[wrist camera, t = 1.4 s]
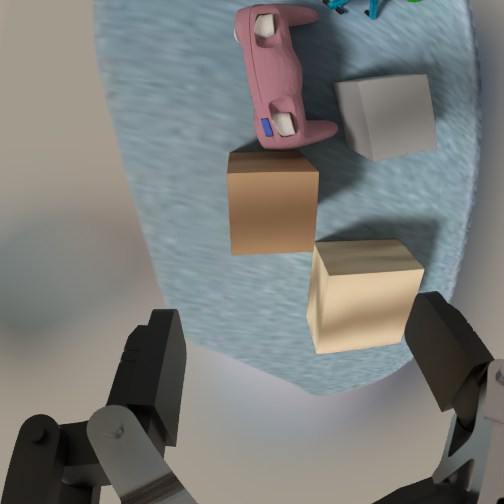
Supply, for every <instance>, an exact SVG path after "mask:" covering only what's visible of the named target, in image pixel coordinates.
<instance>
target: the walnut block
mask: <svg viewBox="0 0 504 504" xmlns="http://www.w3.org/2000/svg"><path fill="white" fill-rule="evenodd" d="M318 183H319V171H318V170H317V169H316V168H315V167H314V166H313V165H312V164H311V163H310V162H309V161H308V160H307V159H306V158H305V157H304V156H303V155H302V154H301V153H300V152H299V151H269V152H235V153H229V161H228V169H227V184H228V203H229V221H230V238H231V254H232V255H246V254H270V253H293V252H314V243H315V230H316V216H317V201H318Z"/></svg>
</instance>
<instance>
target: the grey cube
mask: <svg viewBox="0 0 504 504" xmlns="http://www.w3.org/2000/svg"><path fill="white" fill-rule="evenodd" d="M333 87H334V91H335V95H336V99H337V103H338V107H339V111H340V115H341V120H342V124H343V129H344V133H345V138H346V143H347V147H348V148H350V149H352V150H354V151H355V152H357V153H359V154H361V155H363V156H364V157H366V158H368V159H369V160H371V161H373V162H376V161H380V160H385V159H389V158H394V157H399V156H403V155H408V154H413V153H418V152H422V151H427V150H432V149H438V146H437V136H436V128H435V120H434V113H433V107H432V100H431V94H430V89H429V84H428V79H427V74H398V75H384V76H376V77H368V78H361V79H354V80H348V81H341V82H336V83H333Z"/></svg>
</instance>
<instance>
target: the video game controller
mask: <svg viewBox="0 0 504 504" xmlns="http://www.w3.org/2000/svg"><path fill="white" fill-rule="evenodd" d="M318 18H319V15H318V13H317V12H316V11H315V10H313V9H311V8H307V7H302V6H296V5H286V4H259V5H253V6H249V7H246V8H243V9H240V10H238V11H237V14H236V19H235V25H236V28H235V29H234V36H235V39H236V40H237V41H238V42H239V43H240V44H241V45H242V47H243V54H244V61H245V66H246V72H247V78H248V82H249V86H250V91H251V95H252V99H253V103H254V106H255V110H254V124H255V130H256V134H257V137H258V139H259V142H260V143H261V145H262V146H263V147H264V148H265V149H268V150H272V149H283V150H287V149H295V148H299V147H303V146H306V145H309V144H312V143H316V142H319V141H321V140H324V139H327V138H330V137H332V136H334V135H335V134H336V133H337V131H338V126H337V125H336V124H335V123H334V122H332V121H328V120H306V118H305V111H304V105H303V100H302V96H301V91H302V81H303V74H302V69H301V65H300V62H299V60H298V57H297V55H296V54H295V52H294V50H293V47H292V41H291V36H290V31H289V27H291V26H299V25H305V24H310V23H313V22H315V21H317V20H318Z"/></svg>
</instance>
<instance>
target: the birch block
mask: <svg viewBox="0 0 504 504" xmlns="http://www.w3.org/2000/svg"><path fill="white" fill-rule="evenodd" d="M424 270H425V269H424V268H423V266H422V265H421V264H420V263H419V262H418V261H417V260H416V258H415V257H414V256H413V255H412V254H411V253H410V252H409V251H408V249H407V248H406V247H405V246H404V245H403V244H402V243H401V242H400V241H399V240H398V239H390V240H360V241H332V242H315V243H314V252H313V256H312V267H311V278H310V288H309V297H308V307H307V320H308V323H309V327H310V331H311V334H312V338H313V342H314V345H315V349H316V353H317V354H322V353H331V352H340V351H348V350H355V349H363V348H370V347H376V346H383V345H389V344H395V343H400V340H401V338H402V335H403V332H404V330H405V325H406V323H407V320H408V317H409V314H410V311H411V308H412V305H413V302H414V299H415V297H416V295H417V293H418V289H419V286H420V283H421V280H422V276H423V273H424Z"/></svg>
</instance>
